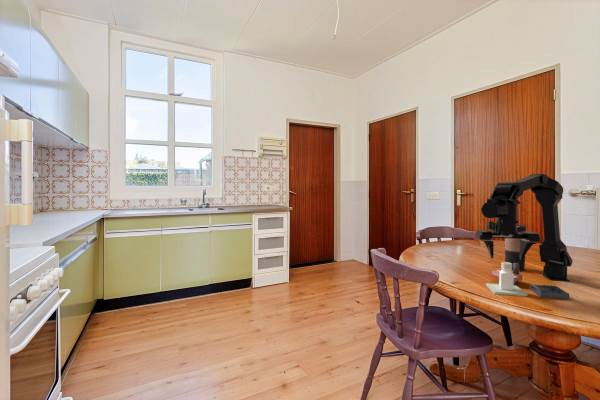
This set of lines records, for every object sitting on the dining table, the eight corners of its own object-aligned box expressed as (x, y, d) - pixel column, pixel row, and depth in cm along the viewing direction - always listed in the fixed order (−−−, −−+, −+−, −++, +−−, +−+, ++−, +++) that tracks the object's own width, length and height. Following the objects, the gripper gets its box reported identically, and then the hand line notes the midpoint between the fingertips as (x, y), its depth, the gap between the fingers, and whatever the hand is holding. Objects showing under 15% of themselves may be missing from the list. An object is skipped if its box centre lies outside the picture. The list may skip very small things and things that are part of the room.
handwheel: (529, 280, 111) (529, 267, 111) (504, 281, 110) (505, 268, 110) (508, 272, 121) (508, 260, 121) (485, 273, 120) (486, 261, 120)
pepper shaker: (500, 289, 106) (500, 263, 105) (498, 286, 109) (499, 261, 109) (513, 291, 104) (514, 265, 103) (511, 287, 107) (512, 262, 107)
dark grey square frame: (555, 291, 105) (555, 285, 105) (569, 299, 98) (569, 293, 98) (529, 289, 108) (529, 284, 108) (541, 297, 100) (541, 291, 100)
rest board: (516, 287, 110) (516, 285, 110) (527, 296, 101) (527, 294, 101) (486, 285, 113) (486, 283, 112) (494, 293, 104) (494, 291, 104)
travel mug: (519, 272, 129) (520, 227, 128) (501, 267, 135) (501, 225, 134) (528, 269, 132) (529, 226, 131) (510, 265, 139) (511, 224, 138)
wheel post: (512, 280, 118) (512, 275, 118) (518, 285, 112) (518, 280, 112) (495, 279, 119) (495, 274, 119) (500, 284, 114) (500, 279, 114)
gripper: (526, 215, 111) (525, 255, 111) (471, 214, 116) (471, 252, 117) (542, 218, 100) (540, 262, 101) (480, 217, 105) (480, 259, 106)
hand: (506, 259), depth 106 cm, fingers open, 9 cm apart
